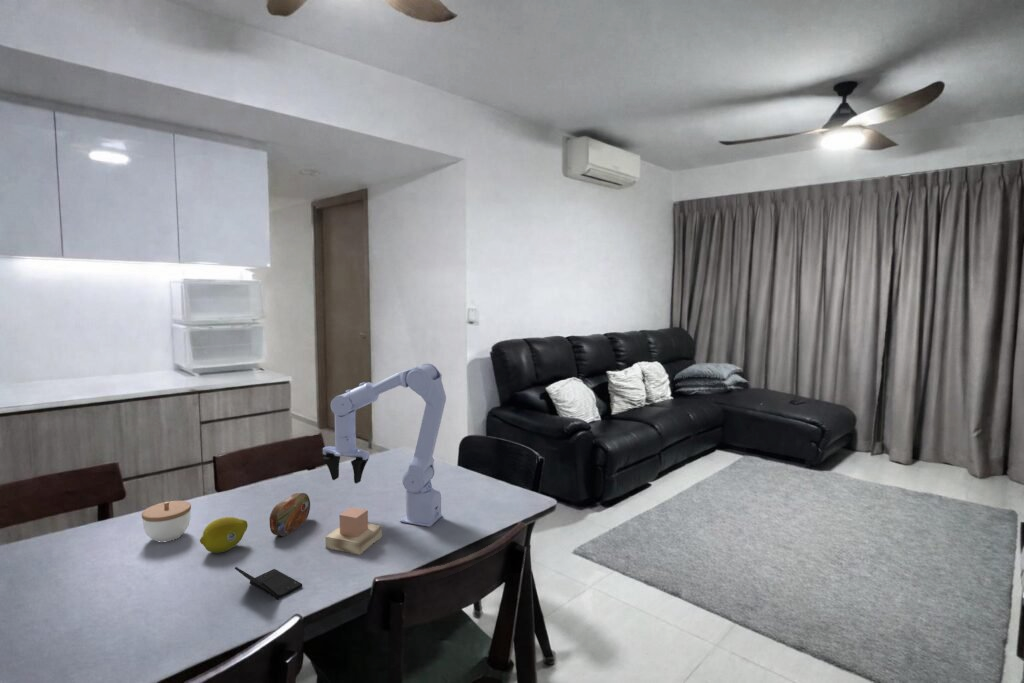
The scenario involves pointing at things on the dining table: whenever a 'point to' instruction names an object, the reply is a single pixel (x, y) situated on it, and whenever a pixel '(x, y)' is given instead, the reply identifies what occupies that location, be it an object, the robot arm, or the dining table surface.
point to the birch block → (354, 540)
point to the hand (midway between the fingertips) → (346, 480)
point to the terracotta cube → (353, 521)
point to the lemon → (223, 534)
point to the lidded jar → (166, 520)
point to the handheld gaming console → (273, 583)
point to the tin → (289, 514)
